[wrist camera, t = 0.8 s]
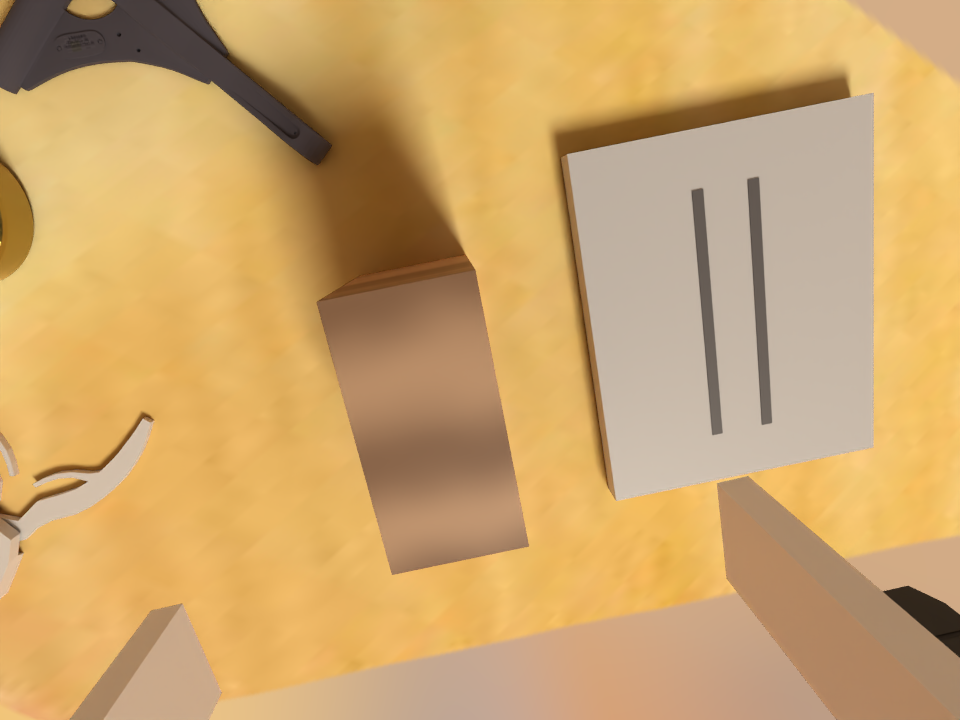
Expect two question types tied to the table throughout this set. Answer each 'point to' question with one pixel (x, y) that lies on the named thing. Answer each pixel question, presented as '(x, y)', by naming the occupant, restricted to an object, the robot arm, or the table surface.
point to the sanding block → (426, 412)
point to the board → (729, 294)
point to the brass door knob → (13, 224)
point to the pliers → (62, 498)
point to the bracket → (138, 54)
